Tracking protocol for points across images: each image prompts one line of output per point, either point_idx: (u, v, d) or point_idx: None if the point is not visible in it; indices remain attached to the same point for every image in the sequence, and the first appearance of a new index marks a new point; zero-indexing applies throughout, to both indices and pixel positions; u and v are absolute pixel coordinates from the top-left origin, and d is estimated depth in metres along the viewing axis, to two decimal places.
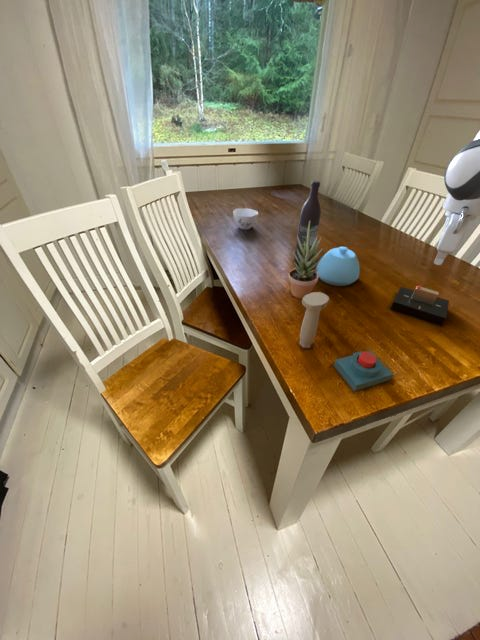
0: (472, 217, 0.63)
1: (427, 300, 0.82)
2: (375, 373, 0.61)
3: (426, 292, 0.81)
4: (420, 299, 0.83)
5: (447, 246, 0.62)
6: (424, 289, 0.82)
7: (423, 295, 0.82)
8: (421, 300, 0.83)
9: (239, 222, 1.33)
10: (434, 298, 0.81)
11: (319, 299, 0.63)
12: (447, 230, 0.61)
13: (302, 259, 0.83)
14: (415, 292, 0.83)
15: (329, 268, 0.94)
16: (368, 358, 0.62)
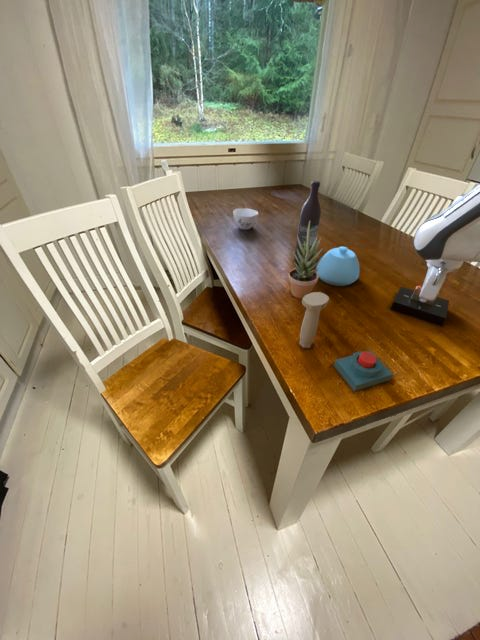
0: (449, 269, 0.74)
1: (427, 300, 0.82)
2: (375, 373, 0.61)
3: None
4: None
5: (427, 295, 0.73)
6: None
7: None
8: None
9: (239, 222, 1.33)
10: None
11: (319, 299, 0.63)
12: (427, 282, 0.72)
13: (302, 259, 0.83)
14: (415, 292, 0.83)
15: (329, 268, 0.94)
16: (368, 358, 0.62)
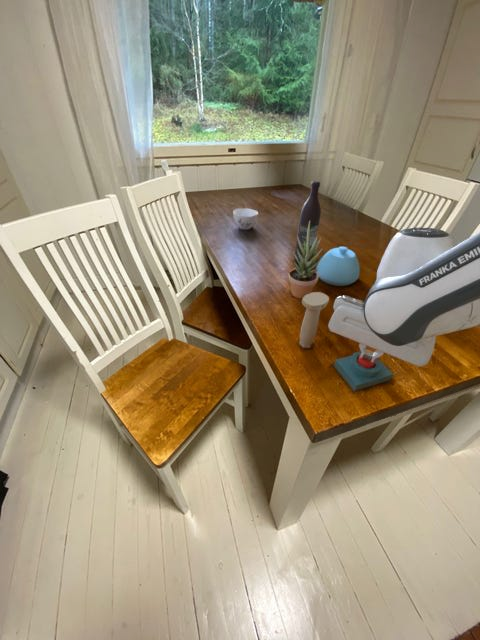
0: None
1: None
2: (375, 373, 0.61)
3: None
4: None
5: None
6: None
7: None
8: None
9: (239, 222, 1.33)
10: None
11: (319, 299, 0.63)
12: None
13: (302, 259, 0.83)
14: None
15: (329, 268, 0.94)
16: None
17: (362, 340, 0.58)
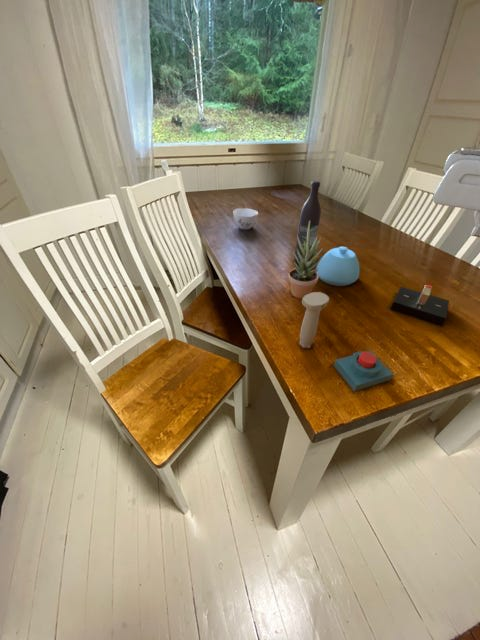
0: None
1: (419, 298, 0.83)
2: (375, 373, 0.61)
3: (423, 290, 0.82)
4: None
5: None
6: (427, 288, 0.82)
7: (421, 293, 0.83)
8: (419, 298, 0.84)
9: (239, 222, 1.33)
10: (420, 297, 0.81)
11: (319, 299, 0.63)
12: None
13: (302, 259, 0.83)
14: (423, 289, 0.84)
15: (329, 268, 0.94)
16: (368, 358, 0.62)
17: None
